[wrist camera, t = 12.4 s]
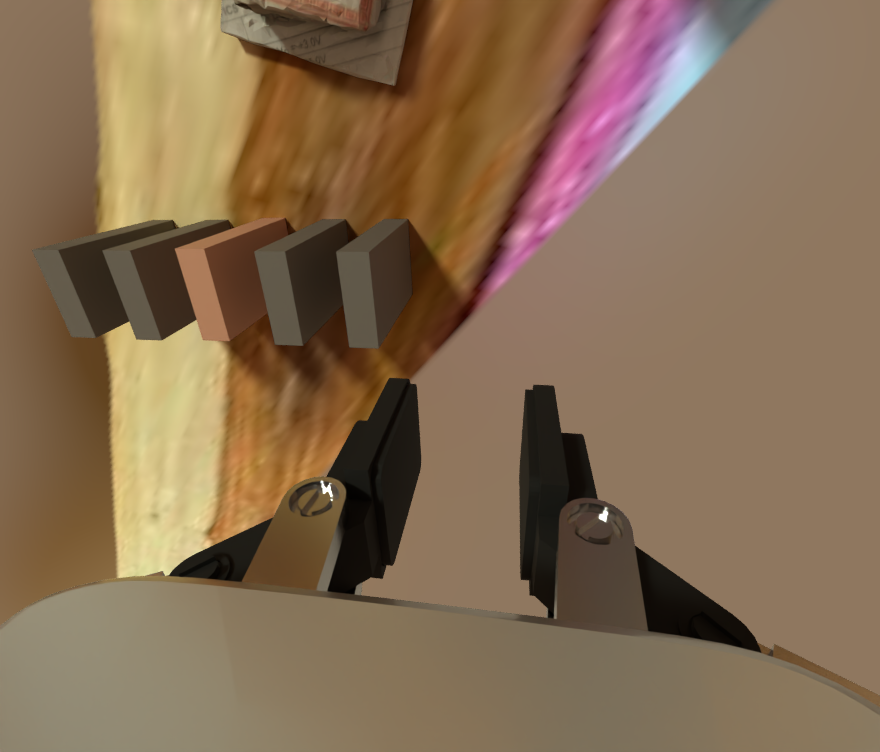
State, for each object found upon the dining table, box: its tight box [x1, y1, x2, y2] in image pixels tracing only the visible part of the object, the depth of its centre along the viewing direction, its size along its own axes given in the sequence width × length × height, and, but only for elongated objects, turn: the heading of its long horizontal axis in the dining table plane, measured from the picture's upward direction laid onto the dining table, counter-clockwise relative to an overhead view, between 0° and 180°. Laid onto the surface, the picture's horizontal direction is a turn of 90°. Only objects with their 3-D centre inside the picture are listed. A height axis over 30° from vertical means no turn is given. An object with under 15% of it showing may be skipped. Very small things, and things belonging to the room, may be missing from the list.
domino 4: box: [254, 219, 349, 346], centre depth 27 cm, size 2×5×9 cm, turn 2°
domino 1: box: [32, 220, 175, 338], centre depth 29 cm, size 2×5×9 cm, turn 2°
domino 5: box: [336, 219, 413, 348], centre depth 26 cm, size 2×5×9 cm, turn 1°
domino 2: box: [102, 220, 230, 340], centre depth 28 cm, size 2×5×9 cm, turn 2°
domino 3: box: [175, 218, 288, 341], centre depth 27 cm, size 2×5×9 cm, turn 1°
